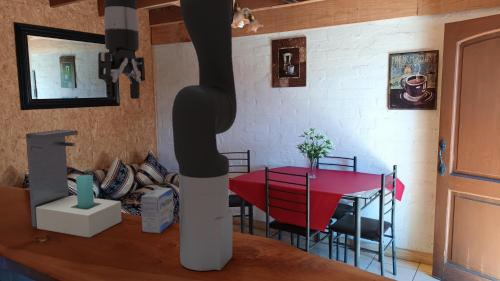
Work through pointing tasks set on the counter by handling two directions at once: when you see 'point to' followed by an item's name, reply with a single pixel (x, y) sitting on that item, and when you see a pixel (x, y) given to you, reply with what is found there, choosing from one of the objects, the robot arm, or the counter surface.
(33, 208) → the grey upright panel
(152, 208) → the medicine box
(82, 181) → the peg
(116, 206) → the socket
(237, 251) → the counter surface
